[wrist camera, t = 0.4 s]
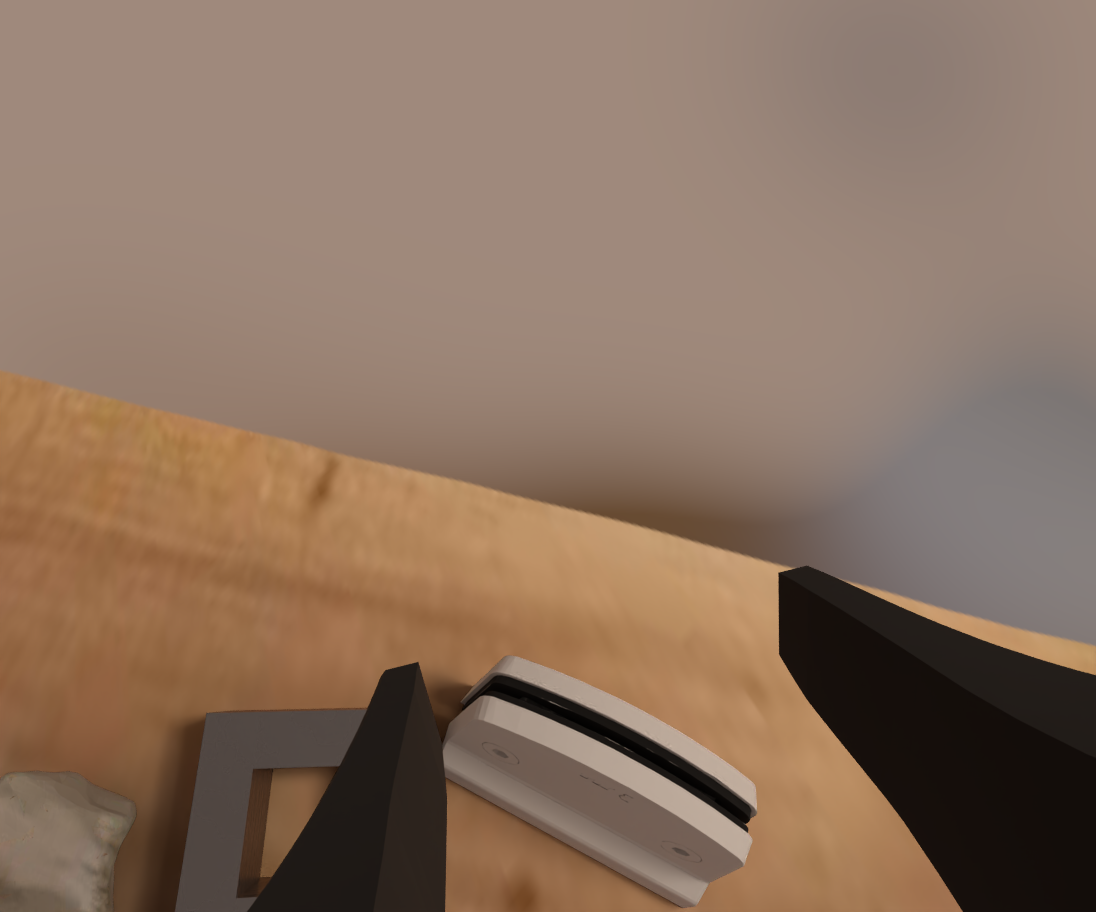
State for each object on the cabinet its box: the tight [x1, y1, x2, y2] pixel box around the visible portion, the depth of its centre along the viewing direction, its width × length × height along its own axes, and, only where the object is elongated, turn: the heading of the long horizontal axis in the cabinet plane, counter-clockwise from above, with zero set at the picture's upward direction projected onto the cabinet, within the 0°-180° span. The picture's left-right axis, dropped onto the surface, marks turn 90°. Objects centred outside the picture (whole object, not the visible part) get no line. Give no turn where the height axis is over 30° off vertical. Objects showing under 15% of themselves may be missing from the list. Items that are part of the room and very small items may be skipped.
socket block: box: [175, 708, 367, 912], centre depth 33 cm, size 11×11×4 cm
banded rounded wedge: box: [442, 656, 757, 908], centre depth 33 cm, size 17×5×10 cm, turn 63°
